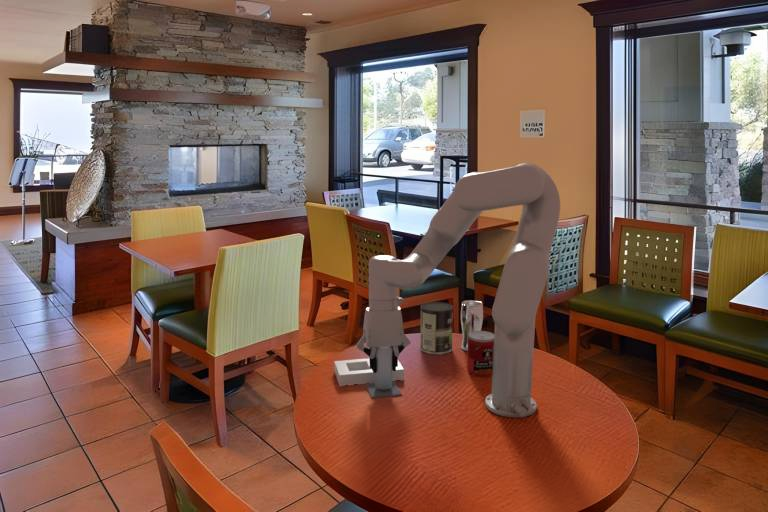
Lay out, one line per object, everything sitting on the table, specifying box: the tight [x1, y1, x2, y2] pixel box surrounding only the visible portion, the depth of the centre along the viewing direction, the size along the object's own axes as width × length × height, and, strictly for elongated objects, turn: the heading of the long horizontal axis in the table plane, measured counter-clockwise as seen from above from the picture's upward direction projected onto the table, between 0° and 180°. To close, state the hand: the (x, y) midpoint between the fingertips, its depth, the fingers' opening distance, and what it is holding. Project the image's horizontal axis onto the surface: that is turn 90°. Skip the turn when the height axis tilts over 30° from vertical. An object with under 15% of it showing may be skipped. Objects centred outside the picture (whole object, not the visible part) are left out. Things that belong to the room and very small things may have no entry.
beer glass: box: [460, 299, 484, 352], centre depth 179 cm, size 7×7×15 cm
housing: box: [334, 357, 405, 387], centre depth 159 cm, size 10×18×3 cm, turn 103°
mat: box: [365, 381, 402, 399], centre depth 150 cm, size 8×8×1 cm
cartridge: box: [375, 346, 392, 389], centre depth 149 cm, size 5×5×12 cm
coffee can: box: [419, 301, 454, 355], centre depth 179 cm, size 10×10×14 cm
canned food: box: [466, 330, 494, 378], centre depth 161 cm, size 8×8×11 cm
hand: (383, 369), depth 149 cm, fingers closed on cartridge, 4 cm apart
